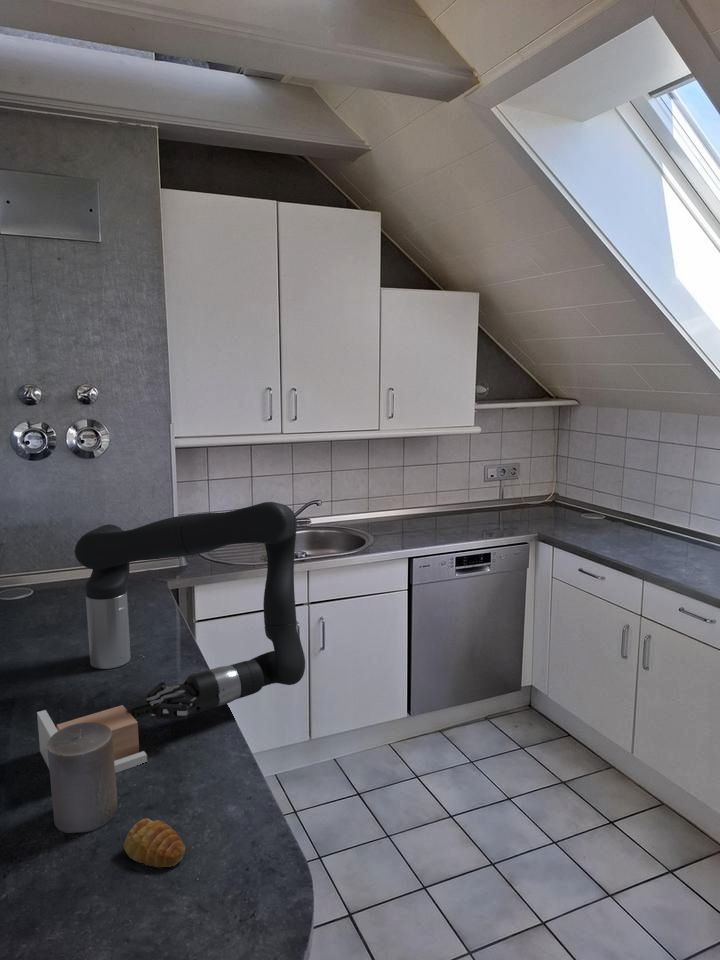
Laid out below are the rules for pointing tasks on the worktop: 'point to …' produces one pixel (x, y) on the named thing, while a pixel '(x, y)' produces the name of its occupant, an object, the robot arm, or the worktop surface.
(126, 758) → the white frame piece
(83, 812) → the pillar candle
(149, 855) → the pastry
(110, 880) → the worktop surface
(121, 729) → the wooden block
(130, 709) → the robot arm
